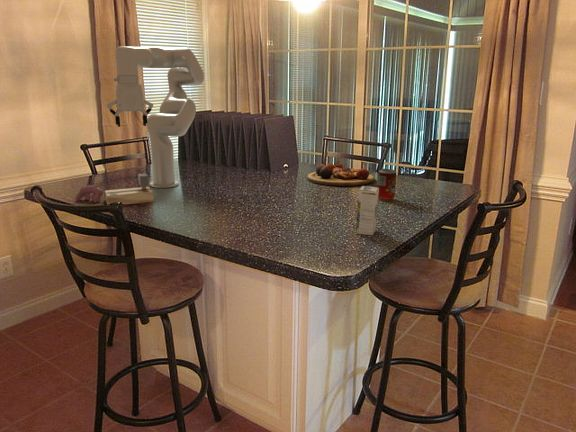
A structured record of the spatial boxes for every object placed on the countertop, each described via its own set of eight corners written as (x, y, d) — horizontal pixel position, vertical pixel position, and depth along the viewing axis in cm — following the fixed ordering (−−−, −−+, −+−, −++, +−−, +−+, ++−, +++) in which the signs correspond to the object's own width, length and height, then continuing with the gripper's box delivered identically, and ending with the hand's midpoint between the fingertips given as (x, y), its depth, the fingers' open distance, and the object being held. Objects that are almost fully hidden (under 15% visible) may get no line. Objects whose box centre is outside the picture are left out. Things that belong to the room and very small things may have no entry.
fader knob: (139, 187, 192) (137, 173, 190) (146, 187, 193) (145, 173, 191) (141, 190, 187) (139, 176, 186) (148, 189, 189) (147, 175, 187)
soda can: (390, 202, 190) (392, 172, 187) (373, 200, 194) (375, 170, 191) (397, 199, 196) (399, 169, 193) (381, 196, 200) (383, 167, 197)
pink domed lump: (102, 205, 189) (106, 187, 190) (95, 202, 185) (98, 184, 186) (81, 202, 192) (85, 185, 193) (73, 200, 187) (77, 182, 189)
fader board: (105, 200, 189) (104, 190, 188) (149, 196, 196) (149, 186, 195) (107, 206, 182) (106, 195, 180) (153, 201, 189) (153, 191, 187)
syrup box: (358, 228, 158) (360, 185, 154) (376, 230, 157) (379, 187, 153) (355, 233, 153) (357, 189, 149) (374, 235, 151) (376, 191, 147)
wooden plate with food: (388, 182, 227) (389, 165, 225) (335, 190, 210) (336, 171, 208) (344, 172, 253) (344, 156, 251) (294, 178, 236) (294, 161, 234)
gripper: (105, 80, 176) (109, 128, 181) (153, 81, 184) (156, 126, 188) (103, 80, 183) (107, 126, 188) (149, 80, 190) (152, 124, 195)
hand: (131, 126), depth 188 cm, fingers open, 9 cm apart
